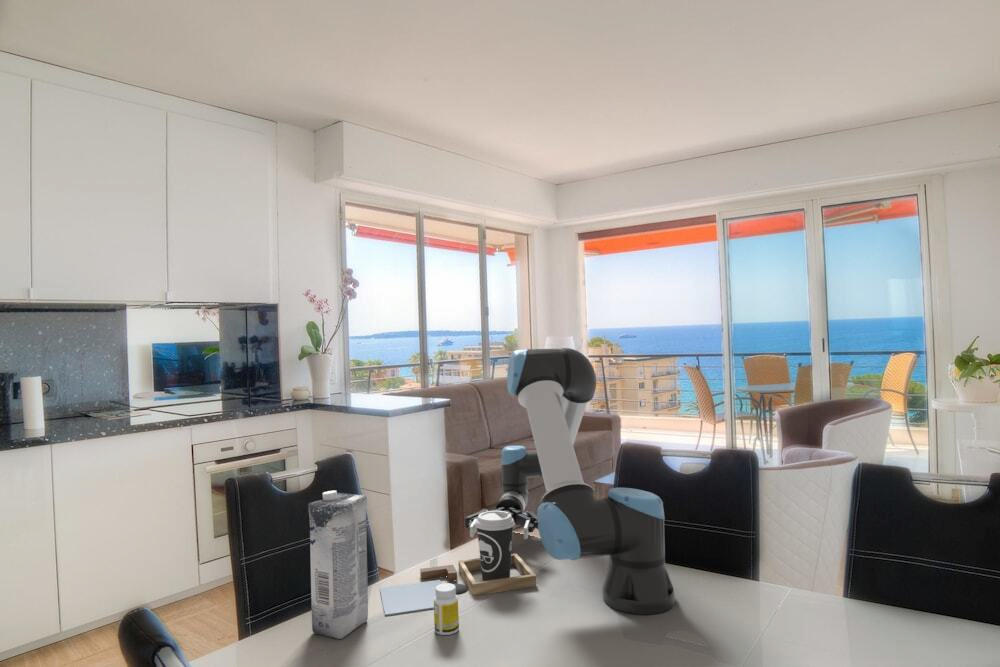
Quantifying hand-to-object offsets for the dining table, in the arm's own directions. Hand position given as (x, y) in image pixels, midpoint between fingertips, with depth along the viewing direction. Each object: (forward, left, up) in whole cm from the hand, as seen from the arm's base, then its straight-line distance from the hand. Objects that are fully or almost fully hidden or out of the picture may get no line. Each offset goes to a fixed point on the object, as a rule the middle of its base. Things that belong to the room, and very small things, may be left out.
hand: (498, 532), depth 148 cm
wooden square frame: (-6, +2, -9) cm, 11 cm away
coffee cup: (-6, +2, -9) cm, 11 cm away
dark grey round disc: (-9, +12, -9) cm, 18 cm away
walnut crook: (-1, +15, -9) cm, 18 cm away
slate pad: (-10, +22, -9) cm, 26 cm away
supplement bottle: (-27, +18, -9) cm, 33 cm away
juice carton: (-19, +38, -9) cm, 43 cm away
